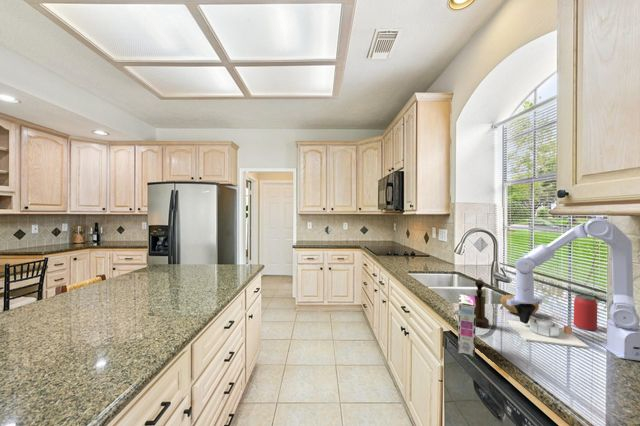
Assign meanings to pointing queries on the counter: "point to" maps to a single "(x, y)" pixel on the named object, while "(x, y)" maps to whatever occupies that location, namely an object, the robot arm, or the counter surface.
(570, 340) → the base
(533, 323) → the elbow collar
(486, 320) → the pepper mill
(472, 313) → the candy bar box
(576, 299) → the beer can
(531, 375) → the counter surface
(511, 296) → the potato
